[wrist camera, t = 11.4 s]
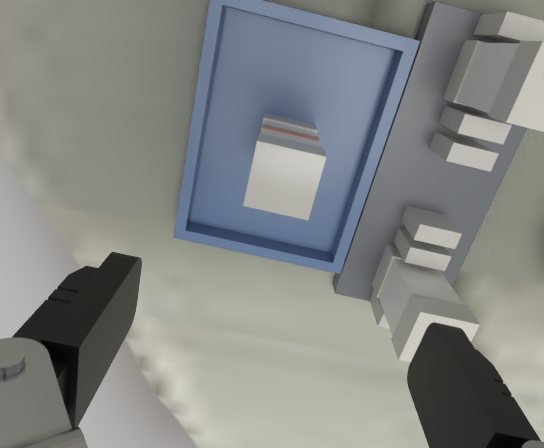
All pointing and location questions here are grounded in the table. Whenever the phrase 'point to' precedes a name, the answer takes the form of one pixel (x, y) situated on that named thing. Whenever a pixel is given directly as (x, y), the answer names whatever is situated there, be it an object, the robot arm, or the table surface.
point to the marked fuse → (285, 167)
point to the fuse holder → (435, 158)
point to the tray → (294, 105)
